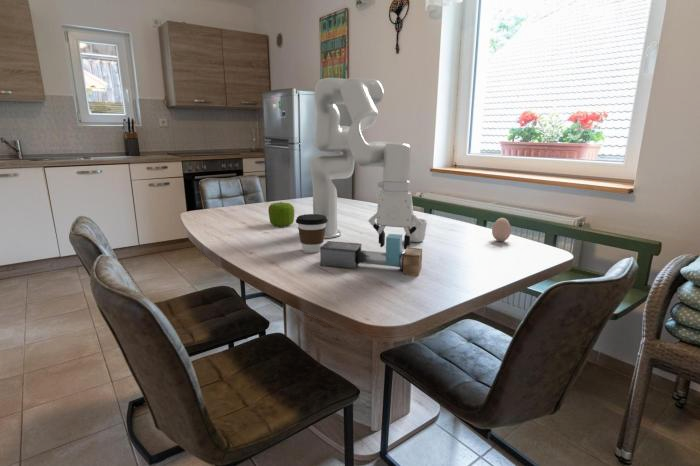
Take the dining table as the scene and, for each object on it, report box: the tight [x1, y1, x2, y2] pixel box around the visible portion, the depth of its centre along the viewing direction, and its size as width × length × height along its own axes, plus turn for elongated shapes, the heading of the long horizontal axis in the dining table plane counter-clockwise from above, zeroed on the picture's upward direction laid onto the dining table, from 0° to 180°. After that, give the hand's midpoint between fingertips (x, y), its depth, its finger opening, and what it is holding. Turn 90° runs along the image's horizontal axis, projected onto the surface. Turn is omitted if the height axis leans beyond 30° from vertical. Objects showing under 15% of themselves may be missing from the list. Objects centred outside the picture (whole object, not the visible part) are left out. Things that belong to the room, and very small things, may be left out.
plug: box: [356, 233, 406, 271], centre depth 120 cm, size 19×6×10 cm, turn 74°
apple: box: [267, 201, 295, 228], centre depth 175 cm, size 11×11×11 cm
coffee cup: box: [295, 213, 328, 254], centre depth 138 cm, size 11×11×12 cm
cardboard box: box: [402, 247, 423, 277], centre depth 119 cm, size 4×8×6 cm, turn 164°
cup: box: [410, 217, 428, 243], centre depth 150 cm, size 11×8×8 cm
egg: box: [491, 217, 512, 243], centre depth 151 cm, size 7×7×9 cm
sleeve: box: [319, 240, 362, 270], centre depth 125 cm, size 11×8×6 cm
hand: (394, 246), depth 119 cm, fingers open, 6 cm apart
